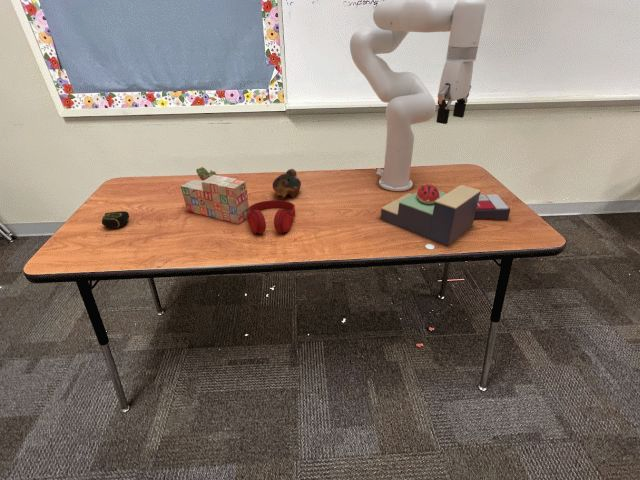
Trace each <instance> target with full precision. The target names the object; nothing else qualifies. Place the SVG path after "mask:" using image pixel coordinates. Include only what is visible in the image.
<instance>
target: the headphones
mask: <svg viewBox="0 0 640 480" xmlns="http://www.w3.org/2000/svg"><path fill="white" fill-rule="evenodd" d="M266 209H278V210H277V211H276V213H275V214H274V218H273V226H274V230H275V231H276V232H277V233H280V234H281V233H282V234H283V233H288V232H289V231H290V230H291V227H292V224H293V222H294V218H296V205H295V204H294V203H293V202H290V201H287V200H282V199H278V200H277V199H274V200H272V199H271V200H264V201H259V202H256V203H254V204H251V205H250V206H249V208H248V211H247V218H246V219H245V220H246V221H248V224H249V227H250V230H251V232H252V233H253V234H257V235H260V234H261V235H262V234H263V233H265V232H266V228H267V222H266V218H265V216H264V213H263V212H262V211H261V210H266Z"/></svg>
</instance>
